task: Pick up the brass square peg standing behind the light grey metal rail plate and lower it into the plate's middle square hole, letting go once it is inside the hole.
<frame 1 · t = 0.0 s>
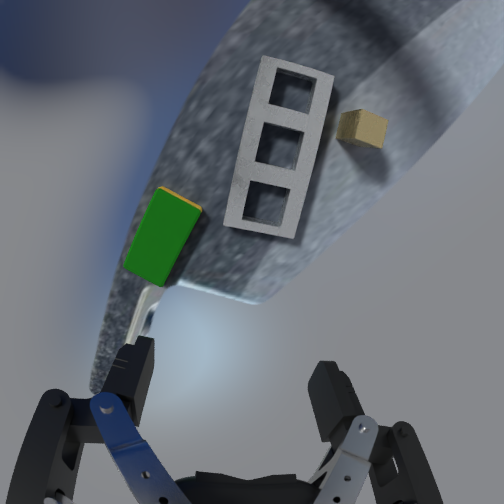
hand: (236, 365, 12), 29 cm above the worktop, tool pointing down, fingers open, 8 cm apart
dish sponge: (162, 235, 41), on the worktop
rail plate: (277, 146, 36), on the worktop
brass peg: (350, 130, 36), on the worktop
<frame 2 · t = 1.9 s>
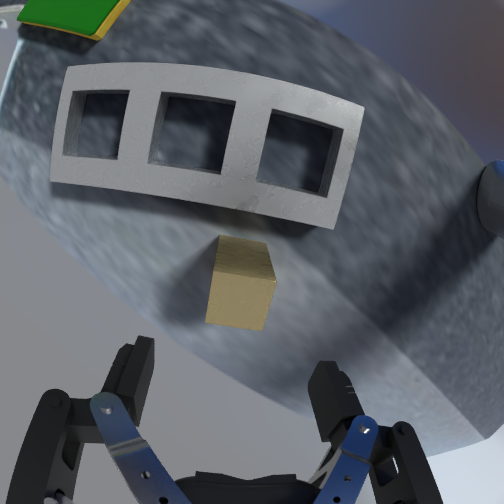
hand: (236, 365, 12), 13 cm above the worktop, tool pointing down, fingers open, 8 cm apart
dish sponge: (78, 3, 14), on the worktop
rail plate: (195, 132, 20), on the worktop
brass peg: (238, 260, 24), on the worktop
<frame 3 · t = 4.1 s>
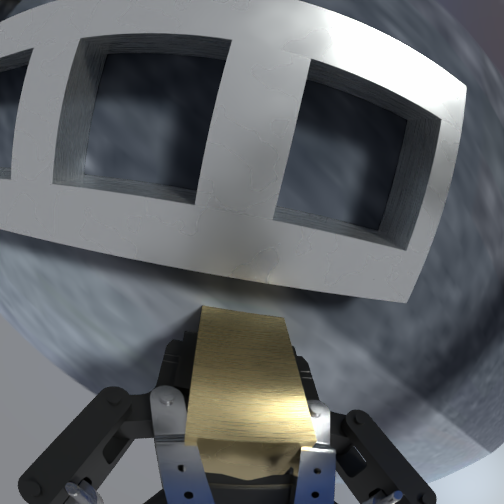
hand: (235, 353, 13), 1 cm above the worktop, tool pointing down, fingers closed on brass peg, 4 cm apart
rail plate: (150, 115, 9), on the worktop
brass peg: (236, 343, 14), on the worktop, touching gripper
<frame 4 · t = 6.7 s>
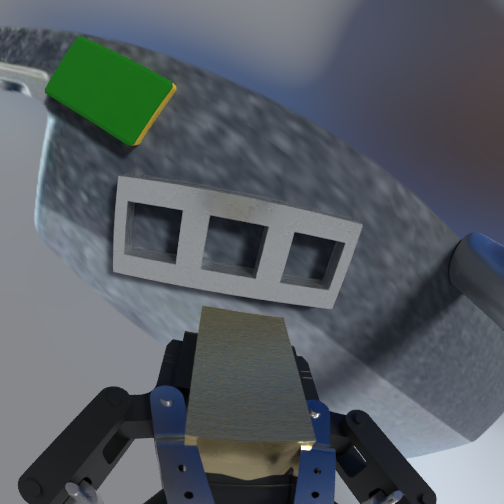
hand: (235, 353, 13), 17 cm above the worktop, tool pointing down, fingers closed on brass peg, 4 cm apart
dish sponge: (110, 88, 22), on the worktop
rail plate: (233, 239, 28), on the worktop
brass peg: (236, 343, 14), point 16 cm above the worktop, touching gripper
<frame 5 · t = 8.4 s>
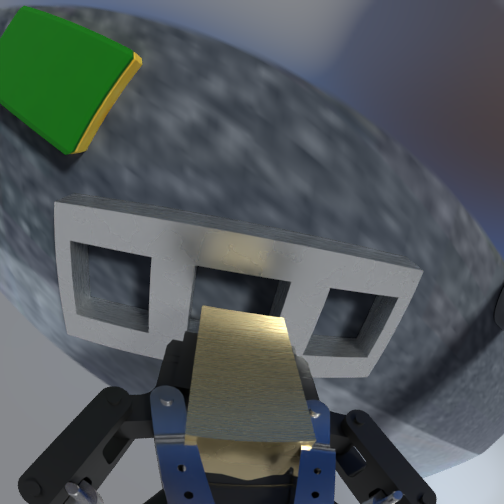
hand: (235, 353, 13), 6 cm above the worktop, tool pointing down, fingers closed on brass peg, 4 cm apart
dish sponge: (54, 70, 12), on the worktop
rail plate: (234, 293, 19), on the worktop
brass peg: (236, 342, 14), point 5 cm above the worktop, touching gripper
when the fingers open (3 cm above the worktop, at t = 9.7 s): brass peg drops 2 cm, resting in rail plate.
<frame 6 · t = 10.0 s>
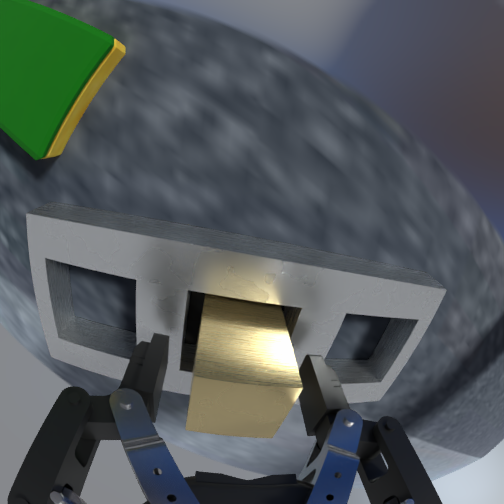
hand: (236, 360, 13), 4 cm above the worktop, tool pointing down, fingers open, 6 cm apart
dish sponge: (32, 63, 9), on the worktop
rail plate: (234, 316, 16), on the worktop
brass peg: (235, 316, 16), resting in rail plate
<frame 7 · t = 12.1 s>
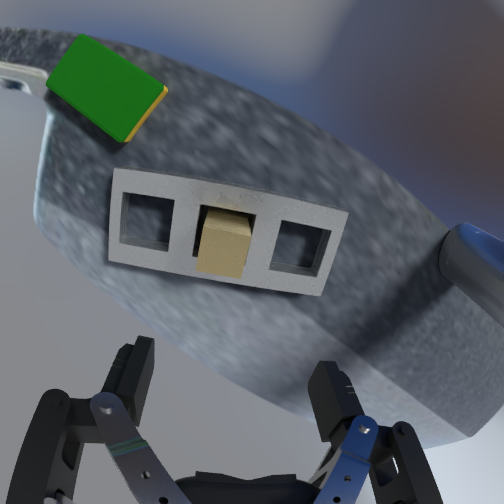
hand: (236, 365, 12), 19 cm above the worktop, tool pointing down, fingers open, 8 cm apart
dish sponge: (106, 86, 23), on the worktop
rail plate: (223, 228, 29), on the worktop
brass peg: (224, 228, 29), resting in rail plate
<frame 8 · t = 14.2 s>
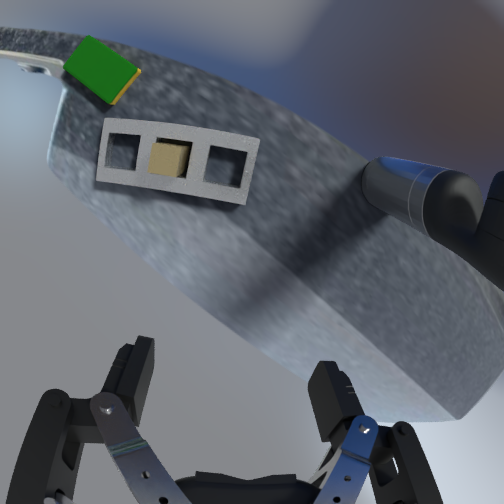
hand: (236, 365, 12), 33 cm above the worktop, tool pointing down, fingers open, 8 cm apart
dish sponge: (103, 69, 33), on the worktop
rail plate: (174, 156, 39), on the worktop
brass peg: (175, 157, 39), resting in rail plate
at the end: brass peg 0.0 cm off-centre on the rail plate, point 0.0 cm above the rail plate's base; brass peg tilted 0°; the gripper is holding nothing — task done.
